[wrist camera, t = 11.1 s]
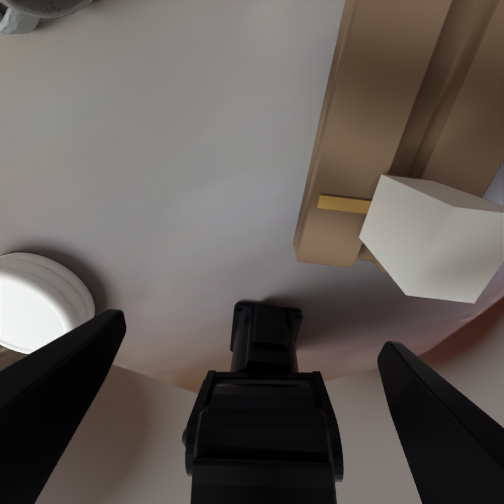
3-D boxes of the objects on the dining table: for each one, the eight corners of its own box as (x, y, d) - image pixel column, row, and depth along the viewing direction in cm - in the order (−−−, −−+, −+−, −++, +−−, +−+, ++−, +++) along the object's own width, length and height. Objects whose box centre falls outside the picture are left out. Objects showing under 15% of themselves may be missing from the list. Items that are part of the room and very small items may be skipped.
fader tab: (393, 233, 17) (474, 303, 11) (351, 228, 17) (406, 295, 10) (418, 175, 15) (535, 216, 9) (371, 169, 15) (453, 206, 9)
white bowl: (107, 334, 26) (86, 362, 23) (17, 326, 26) (-16, 353, 23) (83, 254, 22) (52, 276, 19) (-27, 245, 22) (-75, 266, 19)
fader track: (412, 257, 20) (437, 279, 17) (293, 242, 20) (297, 262, 17) (632, -182, 10) (777, -303, 7) (392, -217, 10) (444, -353, 7)
